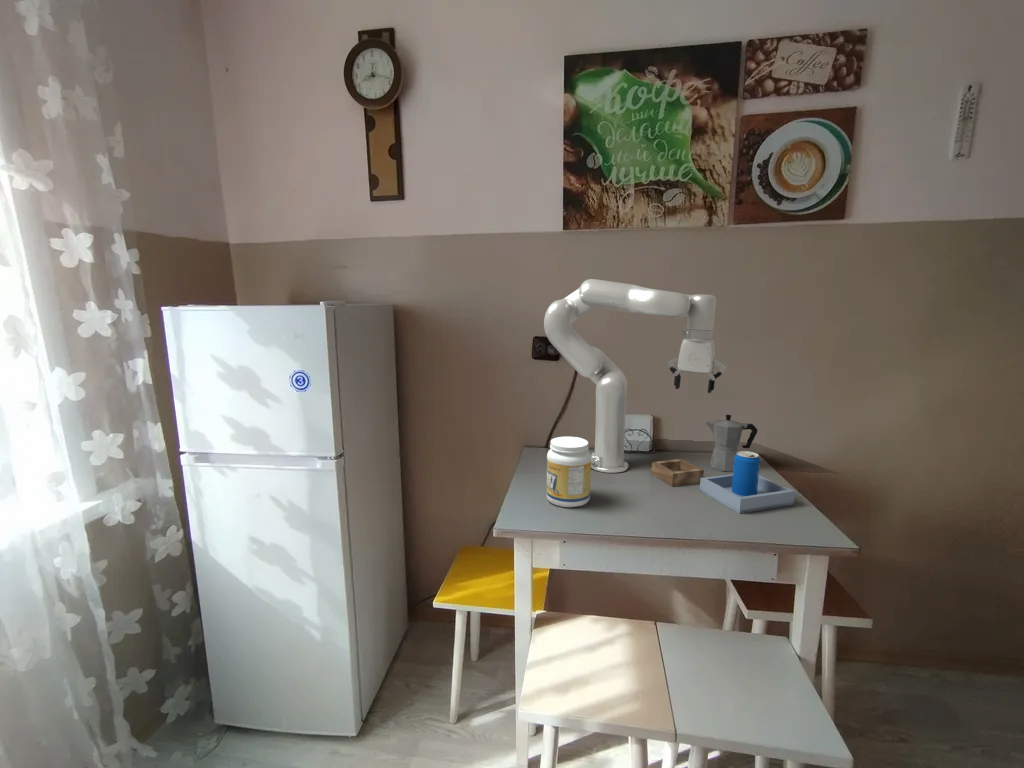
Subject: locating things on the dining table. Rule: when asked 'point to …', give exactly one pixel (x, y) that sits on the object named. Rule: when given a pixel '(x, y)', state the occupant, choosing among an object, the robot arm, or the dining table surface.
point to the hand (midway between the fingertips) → (693, 390)
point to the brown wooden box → (677, 472)
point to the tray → (766, 496)
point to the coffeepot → (728, 442)
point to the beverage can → (745, 473)
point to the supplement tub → (568, 472)
